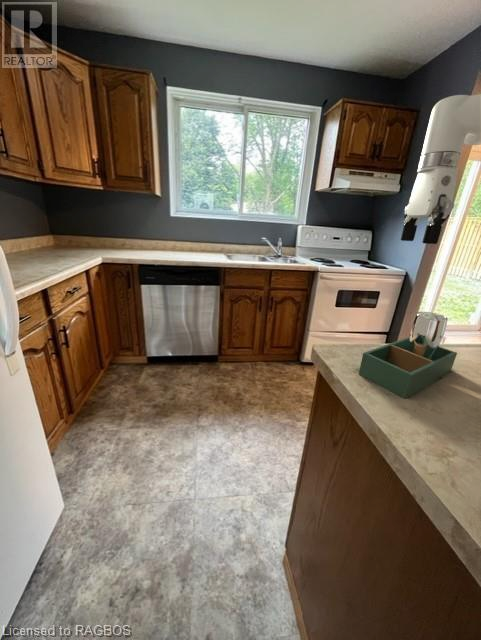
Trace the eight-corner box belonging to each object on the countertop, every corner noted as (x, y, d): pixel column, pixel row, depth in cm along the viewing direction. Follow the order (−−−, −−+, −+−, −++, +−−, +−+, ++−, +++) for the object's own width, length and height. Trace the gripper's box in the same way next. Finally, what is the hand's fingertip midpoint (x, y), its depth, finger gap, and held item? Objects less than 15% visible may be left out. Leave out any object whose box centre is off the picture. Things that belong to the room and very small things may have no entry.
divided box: (405, 354, 80) (410, 336, 78) (450, 373, 71) (457, 352, 69) (358, 373, 68) (363, 352, 66) (404, 398, 59) (412, 375, 57)
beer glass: (413, 360, 77) (428, 310, 71) (437, 373, 71) (455, 319, 65) (395, 363, 74) (409, 312, 69) (418, 377, 68) (435, 321, 63)
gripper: (484, 157, 54) (457, 245, 60) (430, 172, 70) (413, 240, 76) (446, 155, 54) (422, 244, 60) (401, 170, 70) (386, 239, 76)
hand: (417, 242), depth 68 cm, fingers open, 9 cm apart
